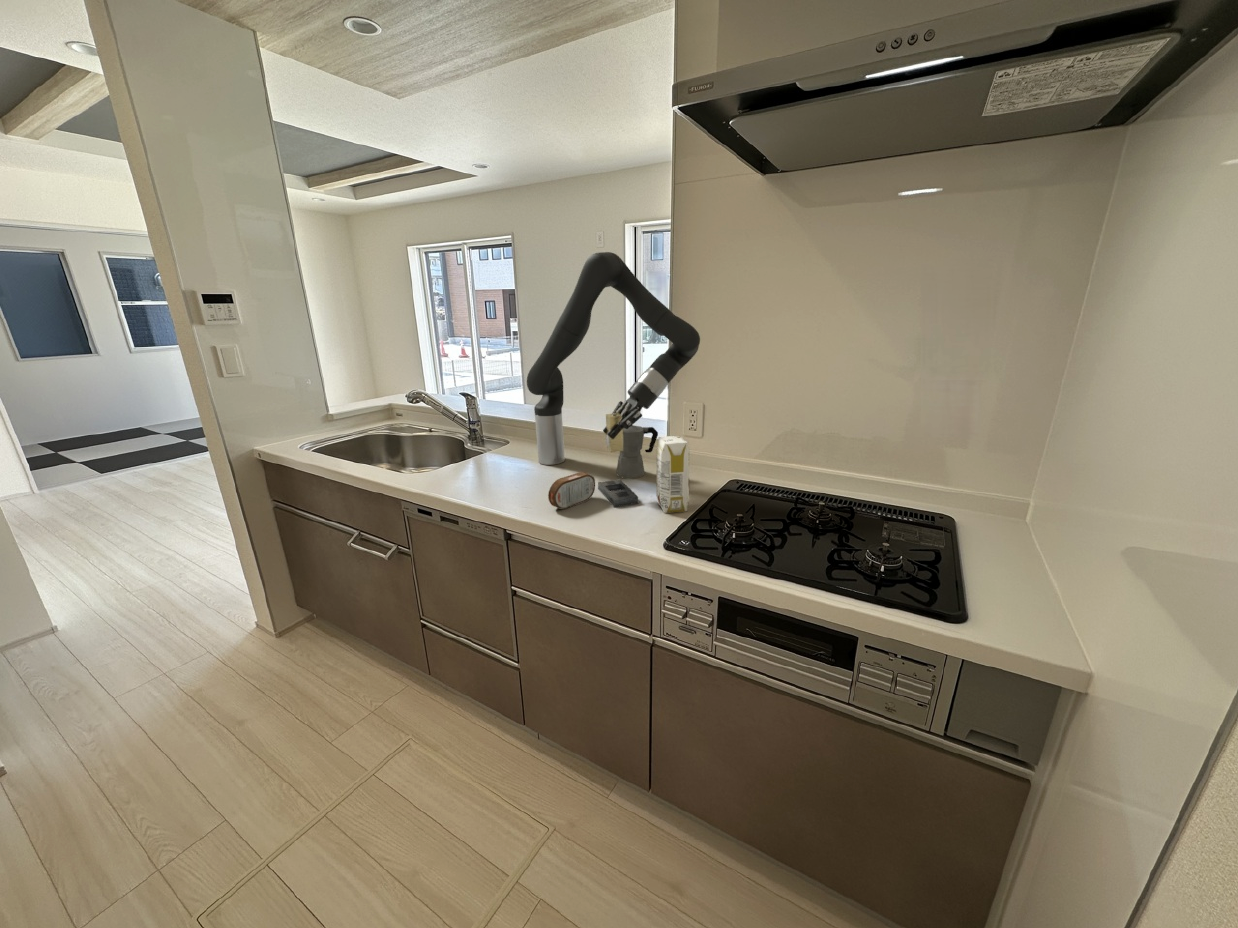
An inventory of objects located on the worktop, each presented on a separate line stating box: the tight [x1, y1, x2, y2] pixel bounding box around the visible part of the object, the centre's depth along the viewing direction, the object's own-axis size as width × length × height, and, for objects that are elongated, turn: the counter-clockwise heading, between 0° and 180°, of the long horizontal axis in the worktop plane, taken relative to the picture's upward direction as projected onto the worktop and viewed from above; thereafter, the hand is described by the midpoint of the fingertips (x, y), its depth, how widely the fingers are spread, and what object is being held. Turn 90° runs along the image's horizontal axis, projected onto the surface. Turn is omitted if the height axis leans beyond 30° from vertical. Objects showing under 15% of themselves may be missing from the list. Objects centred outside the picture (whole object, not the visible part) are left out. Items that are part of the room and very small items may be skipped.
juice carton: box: [656, 435, 691, 514], centre depth 128 cm, size 8×9×19 cm
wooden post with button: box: [605, 413, 623, 453], centre depth 135 cm, size 4×4×10 cm
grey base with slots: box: [597, 479, 639, 508], centre depth 139 cm, size 15×7×2 cm, turn 19°
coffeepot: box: [615, 423, 659, 479], centre depth 154 cm, size 15×9×18 cm, turn 83°
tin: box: [547, 471, 596, 510], centre depth 133 cm, size 15×3×8 cm, turn 135°
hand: (607, 434), depth 134 cm, fingers closed on wooden post with button, 3 cm apart
